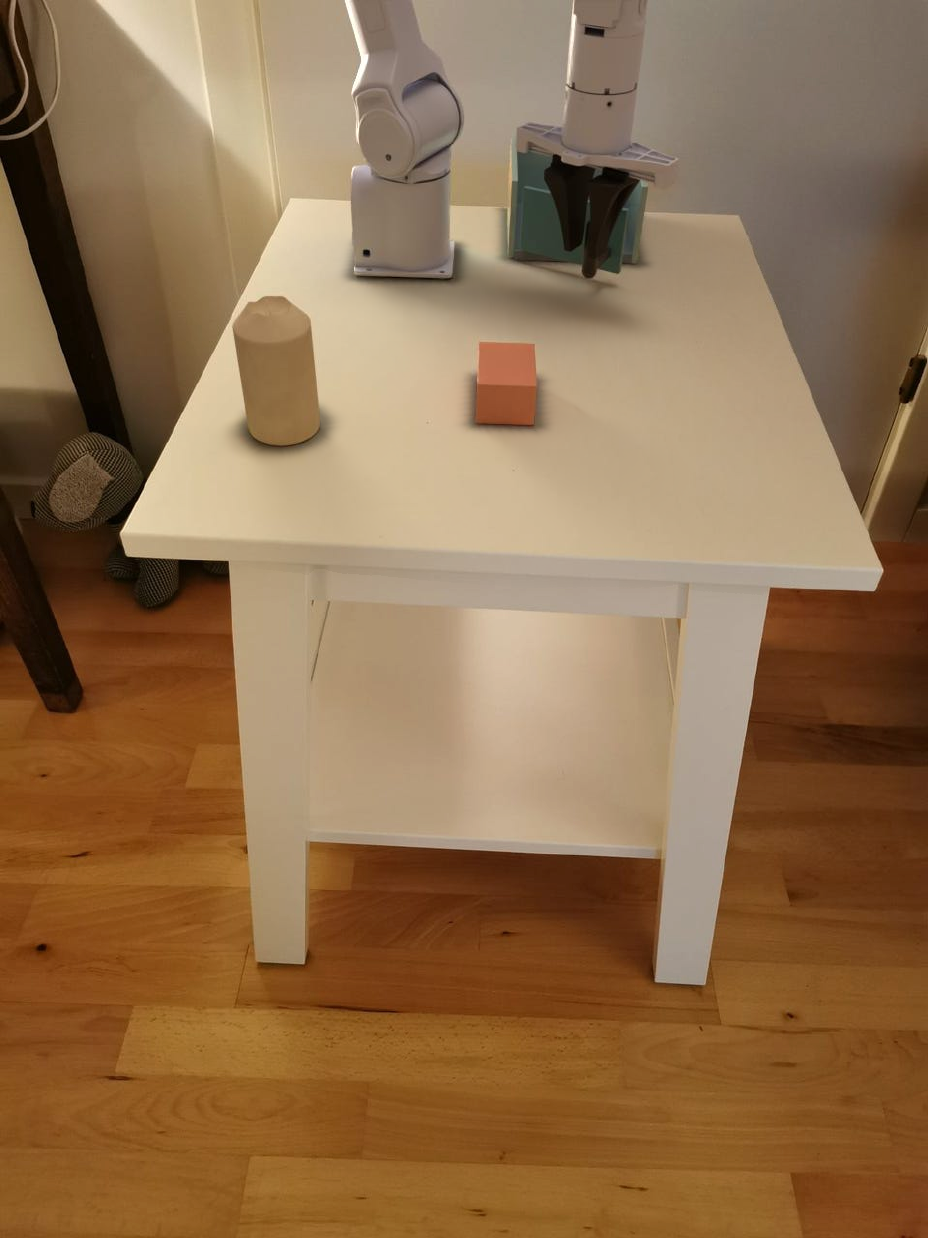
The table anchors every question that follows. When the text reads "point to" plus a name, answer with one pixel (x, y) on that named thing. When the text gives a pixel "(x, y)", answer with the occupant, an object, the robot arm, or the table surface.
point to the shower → (531, 173)
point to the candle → (277, 371)
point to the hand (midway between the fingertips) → (584, 250)
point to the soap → (506, 383)
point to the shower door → (547, 239)
